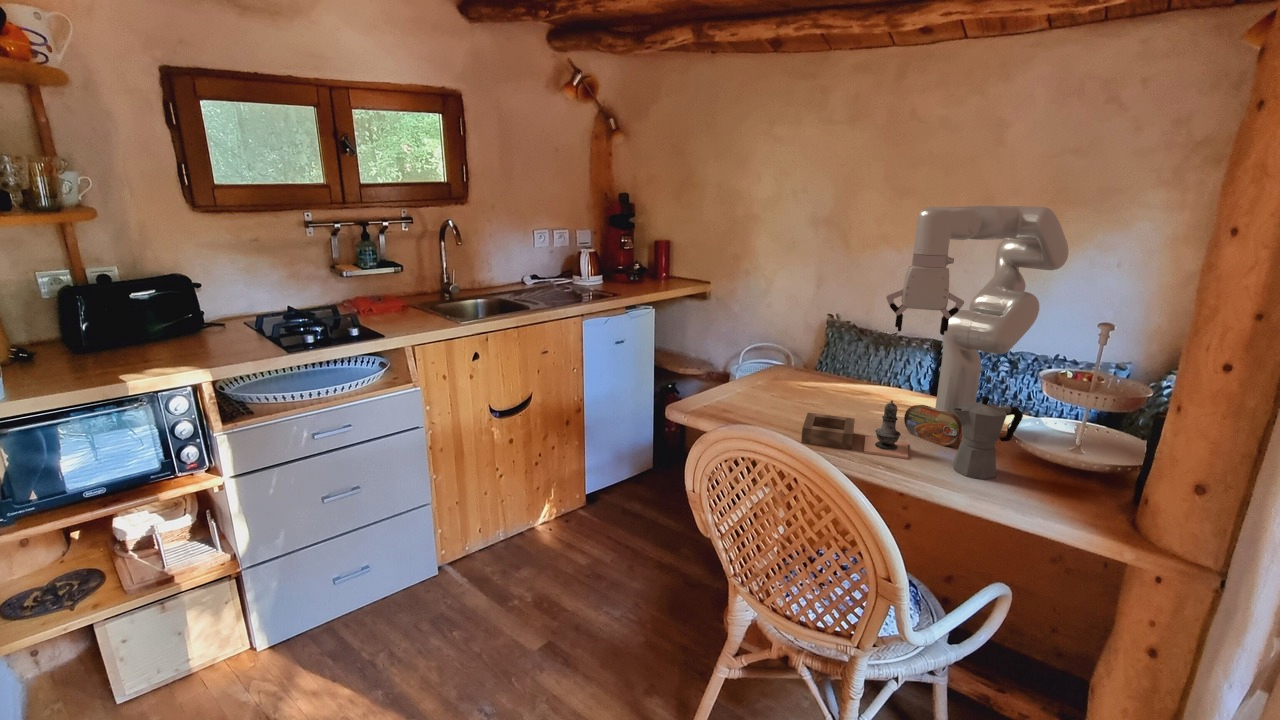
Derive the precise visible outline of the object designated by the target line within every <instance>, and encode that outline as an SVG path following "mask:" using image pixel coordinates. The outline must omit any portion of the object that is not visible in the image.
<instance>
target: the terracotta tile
mask: <svg viewBox="0 0 1280 720" xmlns="http://www.w3.org/2000/svg"><path fill="white" fill-rule="evenodd" d="M876 442H879V440H878V439H877V437H873V436H864V445H863V446H864V447H863V454H869V455H877V456H883V457H889V458H896V459H897V458H898V459H904V460H909V451H908V449H909V448H908V442H907V441H902V440H897V442H895V443H894V444H895V445H897V446H898V448H897V449H896V450H884V449H880V448H878V447H876V446H875V443H876Z"/></svg>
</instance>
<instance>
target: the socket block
mask: <svg viewBox="0 0 1280 720" xmlns="http://www.w3.org/2000/svg"><path fill="white" fill-rule="evenodd" d="M855 420H856V419H855V418H852V417H846V416H845V417H844V416H836V415H831V414H830V415H829V414H821V413H815V412H807V413H806V416H805V419H804V422H803V425H802V429H801V430H802V431H801V439H800V440H801V442H800V443H803V444H809V445H817V446H822V447H829V448H838V449H843V450H844V449H845V450H851V451H852V443H853V437H854V429H855Z"/></svg>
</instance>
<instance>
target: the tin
mask: <svg viewBox="0 0 1280 720" xmlns="http://www.w3.org/2000/svg"><path fill="white" fill-rule="evenodd" d="M903 418H904V419H903V422H904V426H905V427H906V430H907V431H908V433H909V434H911V435H913V436H914V435H915V436H914V437H916V436H918V437H917V438H919V437H920V439H922V438H923V440H925V439H926V440H925V441H928V440H929V441H928V442H931V443H935V444H936V445H939V444H940V445H939V446H950V445H953V444H956V443H958V442H959V441H960V440H961V439H962V437H963V436H962V424H961V422H960V420H959V418H958V417H957V416H956V415H955V414H953V413H950V412H947V411H943V410H940V409H936V408H935V407H932V406H929V405H926V404H915V405H911V406H910V407H909V408H907V409H906V412H905V413H904V417H903Z"/></svg>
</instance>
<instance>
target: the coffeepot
mask: <svg viewBox="0 0 1280 720" xmlns="http://www.w3.org/2000/svg"><path fill="white" fill-rule="evenodd" d="M990 399H991V398H990V396H988V395H982V396H981V402H977V401H976V402H972V403H965V404H962V407H957V408H954V410H953V412H955V413H956V414H957V416H958V418H959V420H960V422H961V424H962V437H961V441H960V443H959V446H958V449H957V452H956V454H955V456H954V458H953V459H954V460H953V463H952V469H953V470H954V471H955V472H956V473H957V474H959V475H961V476H964V477H967V478H970V479H976V480H990V479H993V478H995V477H997V469H996V468H997V460H996V459H997V458H996V442H997V441H998V440H999V439H1000V441H1001V442H1010V441H1011V440H1012V437H1013V436H1014V434H1015V432H1016V430H1017V429H1018V427H1019V425H1020V423H1021V421H1022V420H1023V418H1024V415H1023V412H1022V411H1021V410H1020V409H1019V407H1017V406H1007V405H1006V406H1005V405H1003V406H1000V407H999V406H996V405H994V404H991V403H989V401H990ZM1012 415H1013V418H1012V420H1011V423H1010V426H1009V427H1008V428H1007V431H1006V435H1005V436H1003V437H1002V436H1000V434H1001V432H1002V430H1003V426H1004V424H1005V421H1006V418H1007V416H1012Z"/></svg>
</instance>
